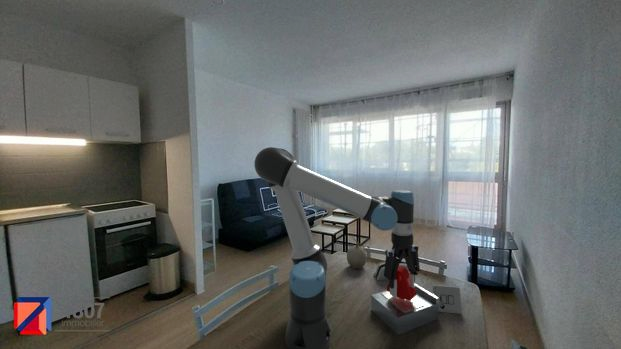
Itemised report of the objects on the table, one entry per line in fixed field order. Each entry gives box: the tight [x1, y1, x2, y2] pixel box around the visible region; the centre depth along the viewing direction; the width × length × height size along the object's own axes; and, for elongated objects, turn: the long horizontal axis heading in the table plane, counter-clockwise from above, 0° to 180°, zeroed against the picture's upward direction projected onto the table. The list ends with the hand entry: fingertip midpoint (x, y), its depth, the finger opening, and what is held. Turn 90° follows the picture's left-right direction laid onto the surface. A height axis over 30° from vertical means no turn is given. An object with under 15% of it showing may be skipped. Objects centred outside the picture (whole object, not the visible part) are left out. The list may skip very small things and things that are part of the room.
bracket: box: [386, 267, 417, 301], centre depth 85 cm, size 9×6×10 cm
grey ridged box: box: [370, 282, 440, 336], centre depth 86 cm, size 19×14×8 cm
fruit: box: [346, 236, 369, 270], centre depth 124 cm, size 10×12×15 cm
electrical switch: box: [432, 284, 463, 315], centre depth 89 cm, size 9×5×9 cm, turn 78°
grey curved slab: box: [373, 259, 409, 281], centre depth 114 cm, size 17×5×10 cm, turn 102°
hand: (402, 293), depth 86 cm, fingers closed on bracket, 8 cm apart
